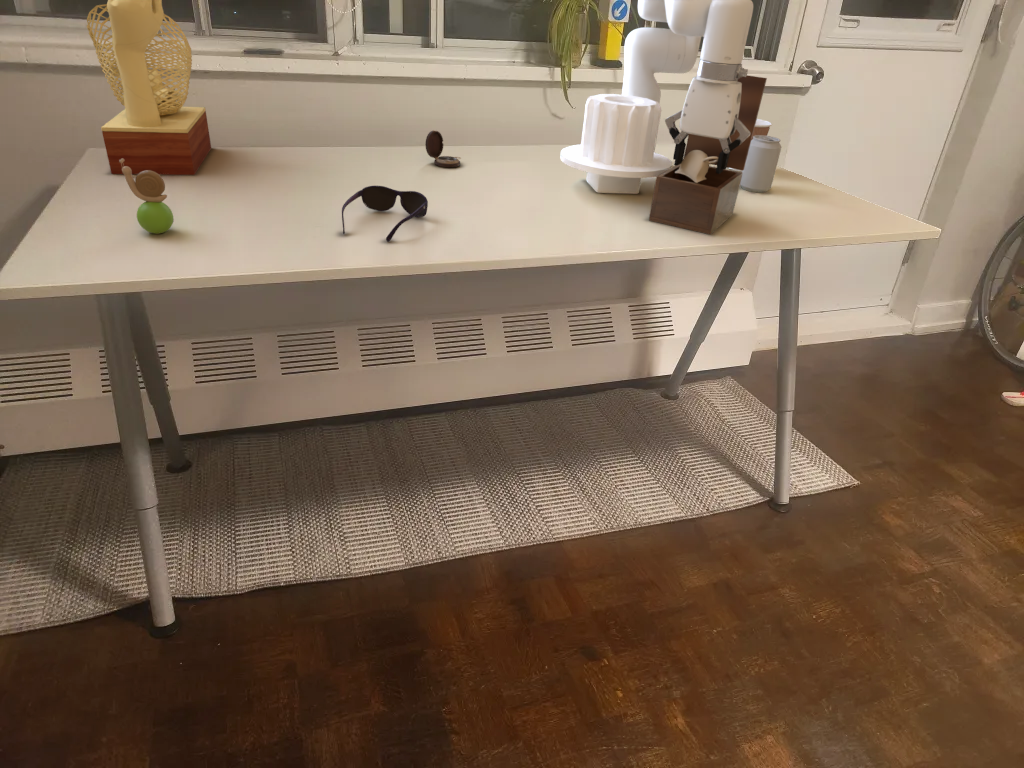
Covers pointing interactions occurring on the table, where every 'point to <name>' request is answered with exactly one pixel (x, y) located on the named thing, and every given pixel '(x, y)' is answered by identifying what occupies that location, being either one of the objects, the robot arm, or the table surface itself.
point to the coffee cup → (759, 131)
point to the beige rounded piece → (696, 165)
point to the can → (761, 163)
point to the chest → (695, 199)
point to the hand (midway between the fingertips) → (698, 167)
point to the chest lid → (748, 117)
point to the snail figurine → (150, 200)
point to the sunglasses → (391, 203)
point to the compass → (439, 150)
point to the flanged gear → (618, 143)
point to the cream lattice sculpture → (149, 92)
